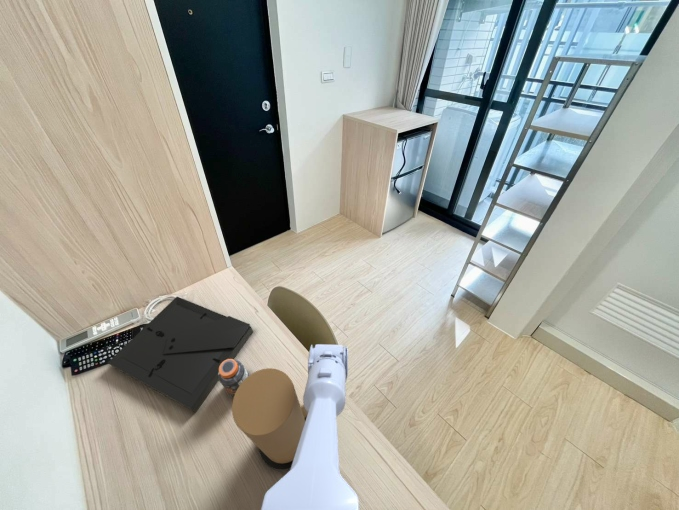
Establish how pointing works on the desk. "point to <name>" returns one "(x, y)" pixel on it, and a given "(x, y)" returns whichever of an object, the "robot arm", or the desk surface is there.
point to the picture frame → (183, 351)
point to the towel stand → (273, 464)
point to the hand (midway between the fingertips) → (331, 406)
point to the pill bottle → (232, 375)
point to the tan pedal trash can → (270, 413)
